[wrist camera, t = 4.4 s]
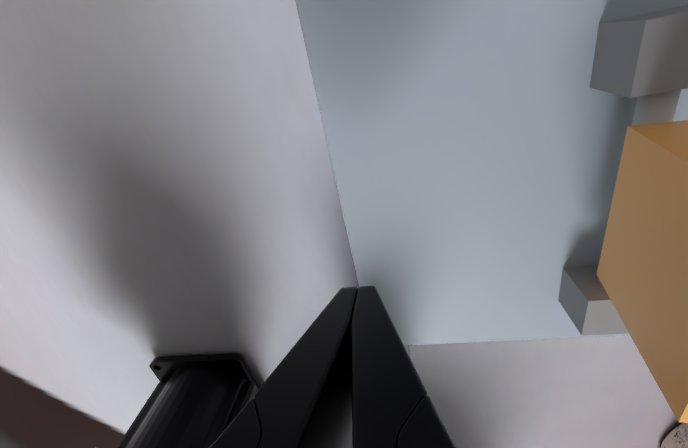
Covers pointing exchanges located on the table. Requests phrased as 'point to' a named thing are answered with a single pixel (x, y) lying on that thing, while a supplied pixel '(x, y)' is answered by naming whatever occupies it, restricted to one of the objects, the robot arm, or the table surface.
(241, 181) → the table surface
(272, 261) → the table surface
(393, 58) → the panel
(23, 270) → the table surface
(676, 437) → the teacup with lid
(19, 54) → the table surface
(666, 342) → the thick orange slab
